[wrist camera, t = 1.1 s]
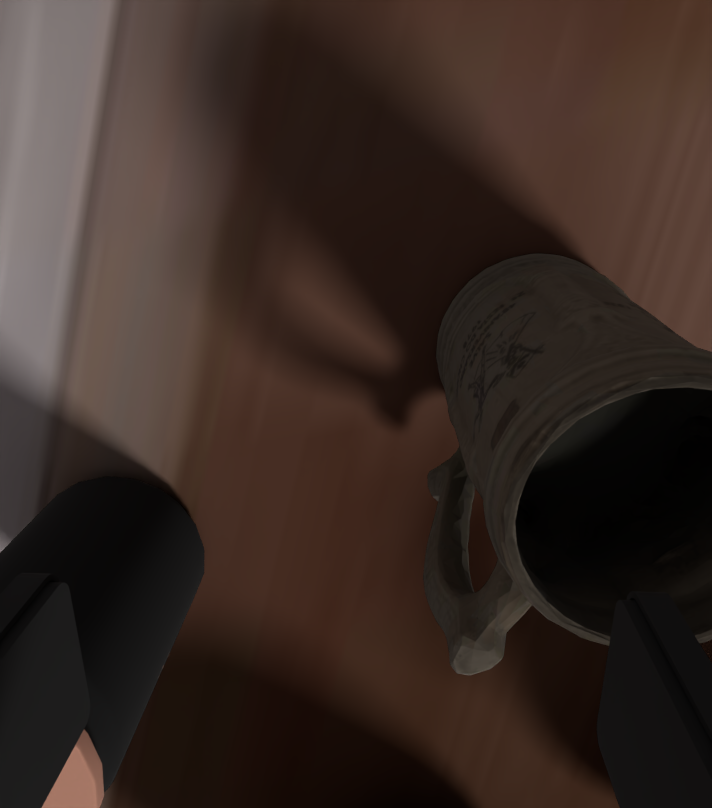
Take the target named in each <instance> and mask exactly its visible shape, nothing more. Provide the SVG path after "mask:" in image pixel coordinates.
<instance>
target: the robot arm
mask: <svg viewBox="0 0 712 808" xmlns="http://www.w3.org/2000/svg"><path fill="white" fill-rule="evenodd" d="M89 714H90V698H89V692H88V687H87V682H86V676H85V671H84V665H83V660H82V654H81V649H80V644H79V638H78V633H77V627H76V622H75V616H74V611H73V605H72V600H71V595H70V590H69V586H68V585H67V584H66V583H63V582H60V579H59V577H58V576H57V575H56V574H49V573H21V574H19V575H18V576H16V577H15V578H14V579H13V581H12V582H11V583H10V584H9V585H8V586H7V587H6V588H5V589H4V591H3V592H2V593H1V594H0V808H42V806H43V804H44V802H45V801H46V799H47V797H48V795H49V793H50V791H51V789H52V788H53V786H54V784H55V782H56V780H57V778H58V777H59V775H60V773H61V771H62V769H63V767H64V765H65V764H66V762H67V760H68V758H69V756H70V754H71V752H72V751H73V749H74V747H75V745H76V743H77V741H78V739H79V738H80V736H81V734H82V732H83V730H84V728H85V726H86V724H87V722H88V718H89ZM597 738H598V744H599V748H600V751H601V754H602V757H603V760H604V763H605V766H606V768H607V771H608V774H609V777H610V780H611V783H612V786H613V789H614V792H615V795H616V798H617V801H618V804H619V807H620V808H712V663H711V661H710V660H709V658H708V657H707V655H706V653H705V652H704V650H703V648H702V647H701V645H700V644H699V642H698V640H697V639H696V637H695V635H694V634H693V632H692V631H691V629H690V627H689V626H688V624H687V622H686V621H685V619H684V617H683V616H682V614H681V613H680V611H679V609H678V608H677V606H676V604H675V603H674V601H673V600H672V598H671V597H670V595H669V594H668V593H665V592H641V591H631V592H629V594H628V596H627V599H626V600H618V601H617V603H616V607H615V612H614V619H613V625H612V631H611V637H610V644H609V650H608V656H607V663H606V669H605V675H604V682H603V688H602V694H601V700H600V707H599V713H598V719H597Z"/></svg>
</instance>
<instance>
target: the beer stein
mask: <svg viewBox="0 0 712 808" xmlns="http://www.w3.org/2000/svg"><path fill="white" fill-rule="evenodd" d="M436 359H437V364H438V370H439V375H440V380H441V382H442V384H443V387H444V389H445V393H446V400H447V404H448V412H449V417H450V421H451V423H452V425H453V426H454V428H455V431H456V434H457V438H458V441H459V445H460V446H459V448H458V450H457V452H456V453H455V454H454V455H453V456H452V457H451V458H450V459H448V460H447V461H446V462H444V463H443V464H441V465H440V466H438V467H436V468H435V469H433V470H431V471H430V472H429V474H428V488H429V490H430V492H431V495H432V497H434V498H435V499H436V500H437V501H438V505H437V509H436V513H435V517H434V521H433V524H432V528H431V532H430V535H429V539H428V544H427V549H426V556H425V565H424V574H423V579H424V588H425V594H426V597H427V600H428V603H429V606H430V608H431V610H432V612H433V615H434V617H435V619H436V621H437V622H438V624H439V625H440V627H441V628H442V629H443V631H444V633H445V635H446V638H447V644H448V649H449V656H450V665H451V666H452V668H453V669H454V670H455V672H456V673H457V674H464V675H473V674H476V673H479V672H482V671H485V670H489V669H491V668H492V667H493V666H494V665H496V664H497V663H498V662H499V661H501V660H502V658H503V656H504V648H505V641H506V633H507V632H508V631H509V629H510V628H511V627H512V626H513V625H514V624H515V623H516V622H517V621H518V620H519V619H520V618H521V617H522V616H523V615H524V614H525V613H526V612H527V610H528V609H529V608H530V607H531V606H532V605H533V606H534V607H535V608H536V609H537V610H538V611H539V612H540V613H541V614H542V615H544V616H545V617H546V618H547V619H548V620H550V621H552V622H554V623H556V624H558V625H560V626H561V627H563V628H565V629H567V630H569V631H570V632H572V633H574V634H576V635H578V636H579V637H581V638H584V639H587V640H590V641H593V642H597V643H601V644H604V645H608V646H609V644H610V637H611V631H612V625H613V619H614V612H615V607H616V603H617V601H618V600H626V599H627V596H628V594H629V592H631V591H641V592H665V593H668V594H669V595H670V597H671V598H672V600H673V601H674V603H675V604H676V606H677V608H678V609H679V611H680V613H681V614H682V616H683V617H684V619H685V621H686V622H687V624H688V626H689V627H690V629H691V631H692V632H693V634H694V635H695V637H696V639H697V640H698V642H699V643H703V642H707V641H709V640H711V639H712V352H710V351H707V350H703V349H700V348H697V347H695V346H694V345H692V344H691V343H689V342H688V341H686V340H685V339H683V338H682V337H680V336H679V335H677V334H676V333H675V332H674V331H672V330H671V329H670V328H668V327H667V326H666V325H664V324H663V323H662V322H661V321H659V320H658V319H657V318H655V317H654V316H653V315H651V314H650V313H648V312H647V311H646V310H644V309H643V308H641V307H640V306H638V305H637V304H635V303H634V302H632V301H631V300H630V299H629V298H628V296H627V295H626V294H625V293H624V292H623V290H621V289H620V288H619V287H618V286H617V285H615V284H614V283H613V282H612V281H610V280H609V279H608V278H607V277H605V276H604V275H601V274H599V273H598V272H596V271H595V270H593V269H592V268H590V267H588V266H586V265H584V264H582V263H580V262H578V261H576V260H573V259H570V258H567V257H564V256H559V255H552V254H541V253H539V254H528V255H523V256H518V257H514V258H510V259H506V260H504V261H502V262H499V263H497V264H495V265H493V266H490V267H488V268H486V269H485V270H483V271H482V272H481V273H479V274H478V275H477V276H475V277H474V278H472V279H471V280H470V281H469V282H468V283H467V284H466V285H465V286H464V287H463V289H462V290H461V291H460V292H459V293H458V294H457V295H456V297H455V298H454V299H453V301H452V303H451V304H450V306H449V308H448V310H447V312H446V314H445V315H444V317H443V320H442V323H441V326H440V330H439V333H438V340H437V349H436ZM475 488H476V489H477V491H478V492H479V494H480V495H481V497H482V499H483V500H484V502H483V506H484V514H485V522H486V527H487V530H488V533H489V536H490V539H491V542H492V545H493V547H494V550H495V552H496V554H497V557H498V561H497V564H496V567H495V569H494V570H493V572H492V574H491V576H490V578H489V580H488V581H487V582H486V584H485V585H484V586H483V588H482V589H481V590H479V591H477V592H475V593H474V590H473V587H472V583H471V577H470V572H469V554H468V541H469V525H470V516H471V510H472V502H473V499H474V492H475Z"/></svg>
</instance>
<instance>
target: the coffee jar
mask: <svg viewBox="0 0 712 808" xmlns="http://www.w3.org/2000/svg"><path fill="white" fill-rule="evenodd" d="M21 573H49V574H56V575H57V576H58V577H59V579H60V582H63V583H66V584H67V585H68V586H69V590H70V595H71V600H72V605H73V611H74V616H75V622H76V627H77V633H78V638H79V644H80V649H81V654H82V660H83V665H84V671H85V676H86V682H87V687H88V692H89V698H90V714H89V718H88V722H87V724H86V726H85V728H84V730H83V732H82V734H81V736H80V738H79V739H78V741H77V743H76V745H75V747H74V749H73V751H72V752H71V754H70V756H69V758H68V760H67V762H66V764H65V765H64V767H63V769H62V771H61V773H60V775H59V777H58V778H57V780H56V782H55V784H54V786H53V788H52V789H51V791H50V793H49V795H48V797H47V799H46V801H45V802H44V804H43V806H42V808H100V806H101V803H102V800H103V797H104V792H105V791H106V790H107V789H108V788H109V786H110V785H111V784H112V782H113V781H114V778H115V776H116V774H117V772H118V769H119V767H120V765H121V762H122V760H123V758H124V756H125V753H126V751H127V749H128V747H129V744H130V742H131V740H132V737H133V735H134V733H135V731H136V728H137V726H138V724H139V721H140V719H141V717H142V715H143V712H144V710H145V708H146V706H147V703H148V701H149V699H150V696H151V694H152V692H153V690H154V687H155V685H156V683H157V681H158V678H159V676H160V674H161V671H162V669H163V667H164V665H165V662H166V660H167V658H168V656H169V653H170V651H171V649H172V646H173V644H174V642H175V640H176V637H177V635H178V633H179V630H180V628H181V626H182V624H183V621H184V619H185V617H186V615H187V612H188V610H189V608H190V605H191V603H192V601H193V599H194V596H195V594H196V592H197V589H198V587H199V584H200V582H201V579H202V577H203V574H204V547H203V544H202V541H201V539H200V536H199V533H198V530H197V527H196V524H195V523H194V522H193V521H192V519H191V518H190V517H189V515H188V514H187V513H186V511H185V510H184V509H183V507H182V506H181V505H180V504H179V503H178V502H177V501H176V500H174V499H173V498H172V497H170V496H169V495H168V494H166V493H165V492H163V491H162V490H161V489H159V488H157V487H154V486H151V485H149V484H146V483H144V482H141V481H138V480H135V479H128V478H118V477H102V478H98V479H93V480H88V481H83V482H78V483H77V484H75V485H73V486H71V487H70V488H68V489H66V490H65V491H63V492H61V493H59V494H58V495H57V496H56V497H55V498H54V499H53V500H52V501H51V502H50V503H49V504H48V505H47V506H46V507H45V508H44V509H43V510H42V511H41V512H40V513H39V514H38V515H37V516H36V517H35V518H34V519H33V520H32V521H31V522H30V523H29V524H28V525H27V526H26V527H25V528H24V529H23V530H22V531H21V532H20V533H19V534H18V535H17V536H16V537H15V538H14V539H13V540H12V541H11V543H10V544H9V545H8V546H7V547H6V548H5V549H4V550H3V551H2V552H1V553H0V594H1V593H2V592H3V591H4V589H5V588H6V587H7V586H8V585H9V584H10V583H11V582H12V581H13V579H14V578H15V577H16V576H18V575H19V574H21Z"/></svg>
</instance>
